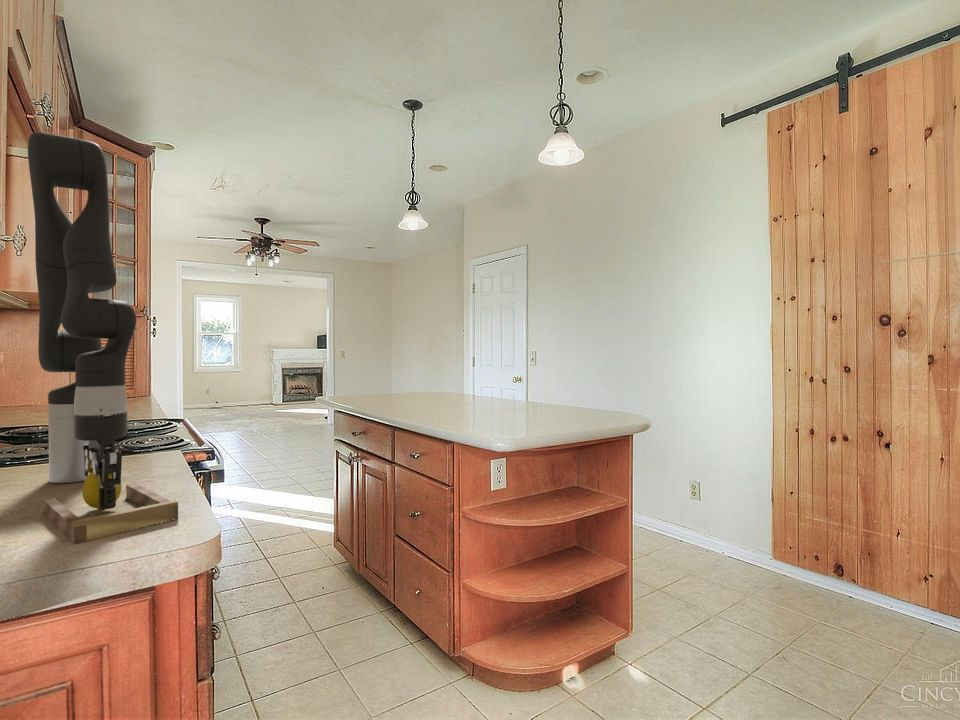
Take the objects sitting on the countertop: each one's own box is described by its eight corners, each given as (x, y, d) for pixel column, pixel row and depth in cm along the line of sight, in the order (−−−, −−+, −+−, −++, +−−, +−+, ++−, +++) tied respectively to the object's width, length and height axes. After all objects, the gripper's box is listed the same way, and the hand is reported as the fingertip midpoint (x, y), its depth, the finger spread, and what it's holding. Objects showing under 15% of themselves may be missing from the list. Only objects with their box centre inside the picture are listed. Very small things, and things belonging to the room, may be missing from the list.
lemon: (100, 517, 85) (100, 470, 85) (74, 515, 87) (73, 469, 86) (129, 507, 91) (128, 463, 91) (104, 505, 92) (103, 462, 92)
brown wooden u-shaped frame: (42, 513, 88) (42, 496, 88) (135, 495, 98) (135, 480, 98) (74, 543, 74) (73, 523, 74) (178, 519, 85) (178, 501, 85)
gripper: (64, 409, 90) (65, 502, 90) (86, 416, 81) (87, 519, 81) (114, 406, 96) (115, 493, 96) (139, 412, 87) (140, 508, 87)
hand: (102, 504), depth 89 cm, fingers closed on lemon, 5 cm apart
